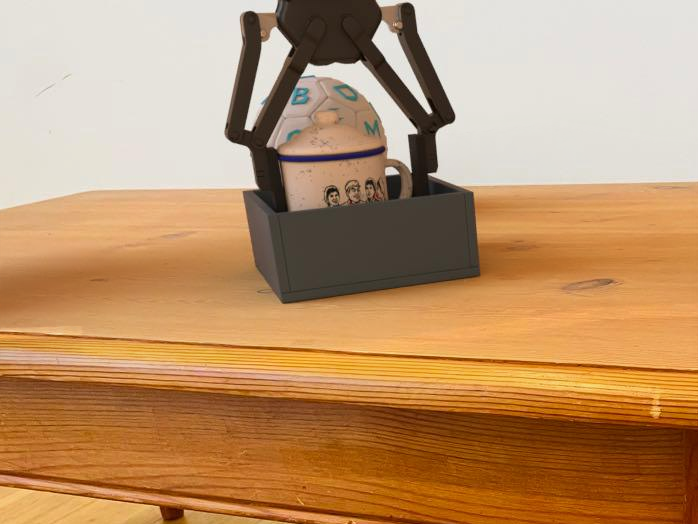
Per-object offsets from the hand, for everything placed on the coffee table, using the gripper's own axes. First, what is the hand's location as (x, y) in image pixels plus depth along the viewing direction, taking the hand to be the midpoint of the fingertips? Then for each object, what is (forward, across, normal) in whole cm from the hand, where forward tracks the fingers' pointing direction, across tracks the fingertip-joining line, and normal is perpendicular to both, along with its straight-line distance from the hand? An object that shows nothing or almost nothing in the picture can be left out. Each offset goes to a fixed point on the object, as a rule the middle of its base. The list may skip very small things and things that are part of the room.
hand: (354, 221), depth 93 cm
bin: (+4, 0, 0) cm, 4 cm away
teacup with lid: (+3, 0, 0) cm, 3 cm away
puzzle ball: (+5, +3, +32) cm, 32 cm away
